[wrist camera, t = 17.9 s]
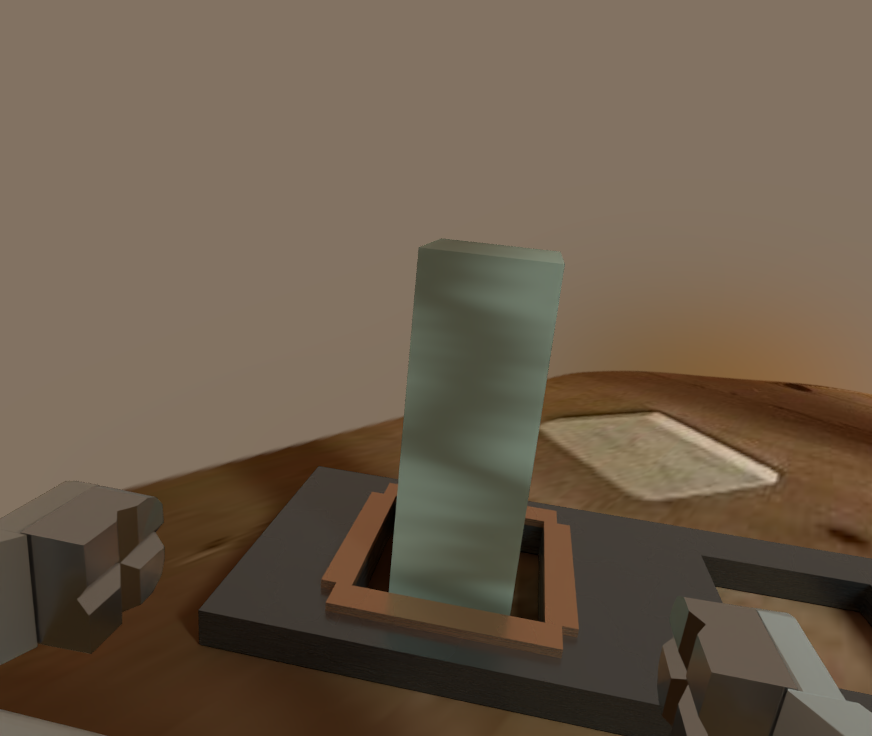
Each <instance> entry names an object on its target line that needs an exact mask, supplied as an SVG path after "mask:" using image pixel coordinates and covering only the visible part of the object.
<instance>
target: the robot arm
mask: <svg viewBox="0 0 872 736" xmlns="http://www.w3.org/2000/svg"><path fill="white" fill-rule="evenodd" d="M163 523H164V520H163V506H162V503H161V502H160V501H159V500H158V499H157V498H156V497H153V496H148V495H143V494H138V493H134V492H129V491H124V490H119V489H115V488H109V487H105V486H99V485H96V484H91V483H85V482H79V481H65V482H63V483H61V484H59V485H58V486H56V487H54V488H53V489H51V490H49V491H47V492H46V493H44V494H42V495H40V496H39V497H37V498H35V499H34V500H32V501H30V502H28V503H27V504H25V505H23V506H21V507H20V508H18V509H16V510H14V511H13V512H11V513H9V514H7V515H6V516H4V517H2V518H1V519H0V665H2V664H4V663H6V662H8V661H10V660H12V659H14V658H16V657H18V656H20V655H22V654H24V653H26V652H28V651H30V650H32V649H34V648H36V647H37V646H38V644H42V645H47V646H53V647H58V648H63V649H68V650H73V651H78V652H83V653H89V654H92V653H93V652H94V651H95V650H96V649H97V648H98V647H99V646H100V645H101V644H102V643H103V642H104V641H105V640H106V639H107V638H108V637H109V636H110V635H111V634H112V633H113V632H114V631H115V630H116V629H117V628H118V627H119V626H120V625H121V624H122V612H124V611H126V610H129V609H131V608H134V607H136V606H139V605H141V604H142V603H143V602H144V601H145V600H146V599H147V598H148V597H149V596H150V595H151V593H152V592H153V591H154V589H155V587H156V585H157V583H158V581H159V579H160V577H161V575H162V570H163V565H164V545H163V544H162V542H161V541H160V539H159V538H158V536H157V535H156V533H155V532H156V531H157V530H158V529H159V527H160V526H161V525H162V524H163ZM669 621H670V625H671V628H672V632H673V635H674V637H673V638H672V639H670V640H669V641H668V642H667V643H665V644H664V645H663V646H662V651H661V655H660V660H659V664H658V679H657V689H658V700H659V705H660V710H661V714H662V716H663V718H664V719H665V720H666V721H667V722H668V723H669V724H670V725H671V726H672V730H671V734H670V736H872V713H871V712H870V711H869V710H867V709H866V708H865V707H863V706H862V705H861V704H859V703H855V702H851V701H846V700H845V698H844V696H843V695H842V693H841V692H840V690H839V688H838V687H837V685H836V684H835V682H834V680H833V679H832V677H831V675H830V674H829V672H828V671H827V669H826V667H825V666H824V664H823V663H822V661H821V659H820V658H819V656H818V654H817V653H816V651H815V650H814V648H813V646H812V645H811V643H810V642H809V640H808V638H807V637H806V635H805V633H804V632H803V630H802V629H801V627H800V625H799V624H798V622H797V621H796V619H795V618H794V617H793V616H791V615H790V614H788V613H784V612H777V611H770V610H764V609H757V608H748V607H742V606H736V605H730V604H724V603H718V602H712V601H706V600H700V599H693V598H687V597H681V596H677V598H676V600H675V602H674V604H673V607H672V610H671V614H670V618H669ZM0 736H107V735H103V734H99V733H95V732H91V731H87V730H83V729H78V728H74V727H70V726H66V725H62V724H58V723H54V722H50V721H46V720H42V719H38V718H34V717H30V716H26V715H22V714H18V713H14V712H10V711H6V710H2V709H0Z"/></svg>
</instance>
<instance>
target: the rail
mask: <svg viewBox="0 0 872 736" xmlns="http://www.w3.org/2000/svg"><path fill="white" fill-rule="evenodd" d="M397 491H398V479H393V478H387V477H381V476H375V475H369V474H363V473H357V472H351V471H345V470H339V469H333V468H327V467H321V466H318V468H317V469H316V470H315V471H314V472H313V473H312V475H311V476H310V477H309V478H308V479H307V481H306V482H305V483H304V484H303V485H302V487H301V488H300V489H299V490H298V491H297V493H296V494H295V495H294V496H293V497H292V499H291V500H290V501H289V502H288V503H287V505H286V506H285V507H284V508H283V509H282V511H281V512H280V513H279V514H278V515H277V517H276V518H275V519H274V520H273V521H272V523H271V524H270V525H269V526H268V527H267V529H266V530H265V531H264V532H263V533H262V535H261V536H260V537H259V538H258V539H257V541H256V542H255V543H254V544H253V545H252V547H251V548H250V549H249V550H248V551H247V553H246V554H245V555H244V556H243V557H242V559H241V560H240V561H239V562H238V563H237V565H236V566H235V567H234V568H233V569H232V571H231V572H230V573H229V574H228V575H227V577H226V578H225V579H224V580H223V581H222V583H221V584H220V585H219V586H218V587H217V588H216V590H215V591H214V592H213V593H212V594H211V596H210V597H209V598H208V599H207V600H206V602H205V603H204V604H203V605H202V606H201V608H200V609H199V610H198V614H199V644H201V645H205V646H210V647H215V648H219V649H224V650H229V651H233V652H238V653H243V654H247V655H252V656H257V657H261V658H266V659H271V660H275V661H280V662H285V663H289V664H294V665H299V666H303V667H308V668H313V669H317V670H322V671H327V672H331V673H336V674H341V675H345V676H350V677H355V678H359V679H364V680H369V681H373V682H378V683H383V684H387V685H392V686H397V687H401V688H406V689H411V690H415V691H420V692H425V693H429V694H434V695H439V696H443V697H448V698H453V699H457V700H462V701H467V702H471V703H476V704H481V705H485V706H490V707H495V708H499V709H504V710H509V711H513V712H518V713H523V714H527V715H532V716H537V717H541V718H546V719H551V720H555V721H560V722H565V723H569V724H574V725H579V726H583V727H588V728H593V729H597V730H602V731H607V732H611V733H616V734H621V735H625V736H670V734H671V730H672V726H671V725H670V724H669V723H668V722H667V721H666V720H665V719H664V718H663V716H662V714H661V710H660V705H659V700H658V689H657V679H658V664H659V660H660V655H661V651H662V646H663V645H664V644H665V643H667V642H668V641H669V640H670V639H672V638H673V637H674V635H673V632H672V628H671V625H670V621H669V618H670V614H671V610H672V607H673V604H674V602H675V600H676V598H677V596H681V597H687V598H693V599H700V600H706V601H712V602H718V603H722V601H721V599H720V596H719V594H718V592H717V590H716V587H715V586H719V587H724V588H730V589H736V590H741V591H747V592H752V593H758V594H764V595H769V596H775V597H780V598H786V599H792V600H797V601H803V602H808V603H814V604H820V605H825V606H831V607H836V608H842V609H848V610H853V611H859V612H861V613H862V614H863V615H864V617H865V618H866V619H867V621H868V622H869V623H870V625H871V626H872V559H870V558H864V557H858V556H852V555H846V554H840V553H834V552H828V551H822V550H816V549H810V548H804V547H798V546H792V545H786V544H780V543H774V542H769V541H763V540H757V539H751V538H745V537H739V536H733V535H727V534H721V533H715V532H709V531H703V530H697V529H691V528H685V527H679V526H673V525H667V524H661V523H655V522H649V521H643V520H637V519H631V518H625V517H619V516H613V515H607V514H601V513H595V512H589V511H583V510H578V509H572V508H566V507H560V506H554V505H548V504H542V503H536V502H530V501H528V503H527V510H526V516H525V522H524V529H523V535H522V542H521V548H520V551H523V552H529V553H534V554H539V576H538V621H534V620H529V619H524V618H519V617H513V616H508V615H503V614H498V613H493V612H487V611H482V610H477V609H472V608H467V607H462V606H456V605H451V604H446V603H441V602H436V601H431V600H425V599H420V598H415V597H410V596H405V595H400V594H394V593H389V592H384V591H379V590H374V589H369V588H366V587H367V585H368V583H369V580H370V578H371V576H372V574H373V571H374V569H375V567H376V565H377V563H378V560H379V558H380V556H381V554H382V551H383V549H384V547H385V545H386V543H387V540H388V538H389V536H390V534H391V532H392V529H393V528H394V526H395V514H396V503H397ZM839 690H840V692H841V693H842V695H843V696H844V698H845V700H846V701H851V702H855V703H859V704H861V705H862V706H863V707H865V708H866V709H867V710H869V711H870V712H871V713H872V695H869V694H864V693H859V692H854V691H849V690H843V689H839Z"/></svg>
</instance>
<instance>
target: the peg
mask: <svg viewBox="0 0 872 736" xmlns="http://www.w3.org/2000/svg"><path fill="white" fill-rule="evenodd" d="M564 266H565V264H564V261H563V258H562V255H561V252H557V251H548V250H539V249H530V248H522V247H513V246H504V245H494V244H486V243H477V242H468V241H459V240H450V239H439V240H437V241H434V242H431V243H429V244H426V245H424V246H421V247H419V250H418V262H417V273H416V285H415V296H414V308H413V319H412V331H411V343H410V354H409V365H408V377H407V389H406V399H405V412H404V422H403V434H402V445H401V457H400V468H399V480H398V491H397V503H396V514H395V526H394V537H393V549H392V560H391V572H390V583H389V593H394V594H400V595H405V596H410V597H415V598H420V599H425V600H431V601H436V602H441V603H446V604H451V605H456V606H462V607H467V608H472V609H477V610H482V611H487V612H493V613H498V614H503V615H508V616H510V612H511V606H512V599H513V593H514V587H515V580H516V574H517V567H518V561H519V554H520V548H521V542H522V535H523V529H524V522H525V516H526V510H527V503H528V497H529V490H530V484H531V478H532V471H533V465H534V458H535V452H536V445H537V439H538V433H539V426H540V420H541V413H542V407H543V401H544V394H545V388H546V381H547V375H548V368H549V361H550V356H551V349H552V343H553V336H554V330H555V323H556V317H557V311H558V304H559V298H560V291H561V285H562V279H563V272H564Z"/></svg>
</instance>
